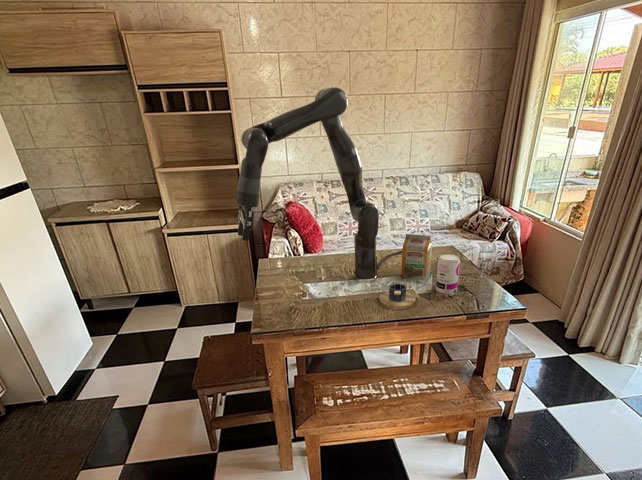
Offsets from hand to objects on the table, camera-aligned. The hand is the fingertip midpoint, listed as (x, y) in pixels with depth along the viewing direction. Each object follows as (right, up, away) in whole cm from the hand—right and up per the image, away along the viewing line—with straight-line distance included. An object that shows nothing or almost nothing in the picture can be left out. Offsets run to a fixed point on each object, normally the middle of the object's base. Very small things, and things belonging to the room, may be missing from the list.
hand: (242, 238), depth 145 cm
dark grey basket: (+57, -21, +12) cm, 62 cm away
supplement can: (+78, -18, +19) cm, 82 cm away
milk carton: (+68, -10, +34) cm, 77 cm away
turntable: (+57, -22, +13) cm, 63 cm away
